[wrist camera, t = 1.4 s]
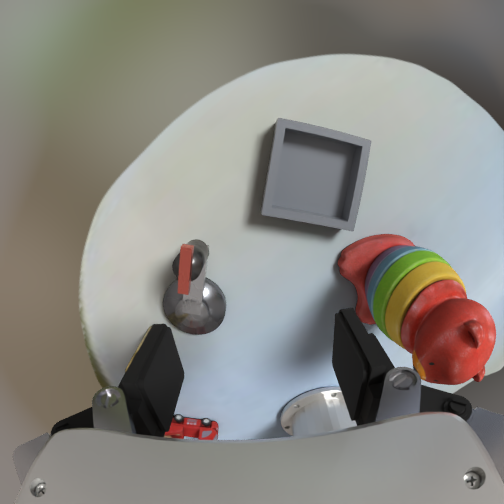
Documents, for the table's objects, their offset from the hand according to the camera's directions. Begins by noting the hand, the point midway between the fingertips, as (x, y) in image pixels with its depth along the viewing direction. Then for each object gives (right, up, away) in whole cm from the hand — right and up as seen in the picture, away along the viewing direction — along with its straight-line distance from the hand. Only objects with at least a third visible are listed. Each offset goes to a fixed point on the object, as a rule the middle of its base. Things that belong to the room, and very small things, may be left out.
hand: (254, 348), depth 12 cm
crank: (-6, +1, +17) cm, 18 cm away
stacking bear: (+15, +2, +18) cm, 24 cm away
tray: (+6, +12, +15) cm, 20 cm away
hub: (-7, -2, +19) cm, 20 cm away
